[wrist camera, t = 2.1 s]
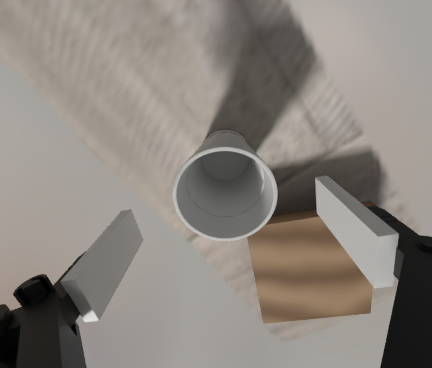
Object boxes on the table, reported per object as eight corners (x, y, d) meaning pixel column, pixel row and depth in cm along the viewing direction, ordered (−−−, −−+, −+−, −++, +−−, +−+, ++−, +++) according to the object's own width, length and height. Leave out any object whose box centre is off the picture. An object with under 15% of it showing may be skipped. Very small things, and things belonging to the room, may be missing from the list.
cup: (242, 111, 26) (254, 127, 15) (266, 170, 29) (291, 221, 18) (182, 139, 28) (153, 173, 16) (210, 193, 30) (201, 253, 19)
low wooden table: (242, 202, 31) (245, 227, 25) (349, 185, 29) (378, 207, 23) (257, 288, 37) (263, 323, 31) (347, 277, 35) (370, 313, 29)
